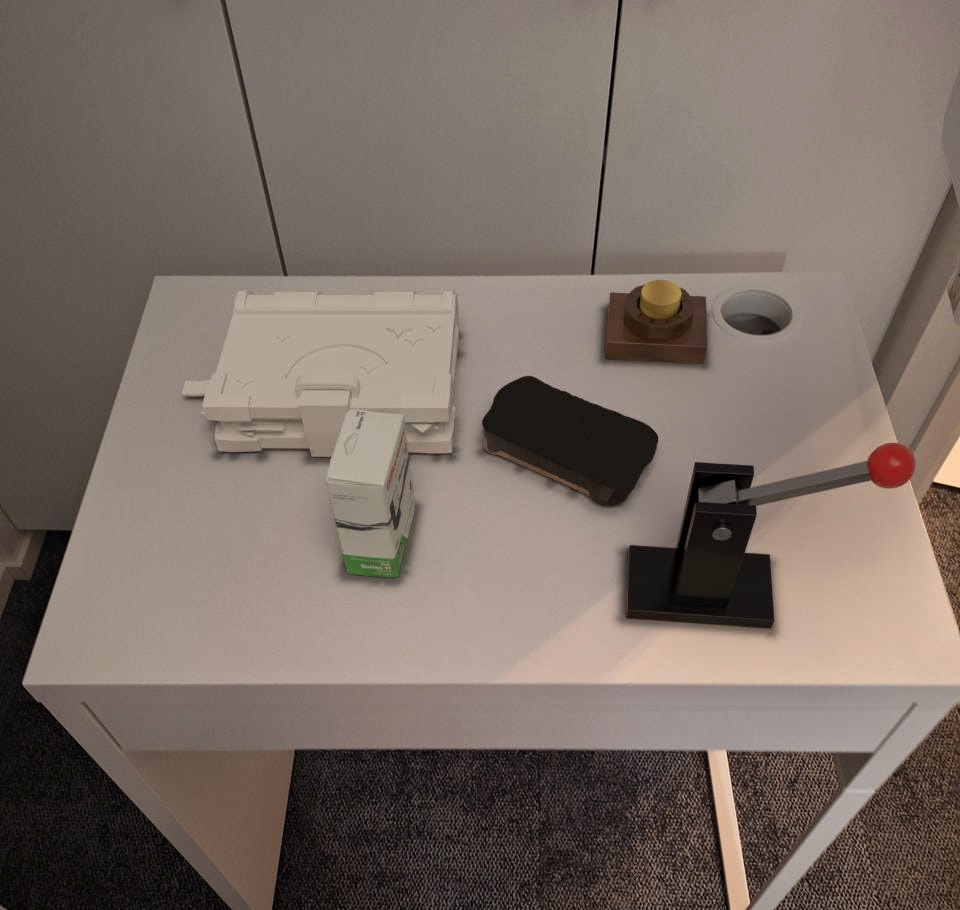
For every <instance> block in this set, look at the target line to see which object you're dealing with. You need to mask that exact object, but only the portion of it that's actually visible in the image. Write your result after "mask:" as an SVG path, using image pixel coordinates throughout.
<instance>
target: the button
mask: <svg viewBox="0 0 960 910" xmlns="http://www.w3.org/2000/svg"><path fill="white" fill-rule="evenodd" d="M643 285H644V286H643V288H642V290H641V298H640V309H641V311H642V312H643V313H644V314H645V315H647V316H649V317H651V318H658V319H667V318H670V317H672V316H674V315H675V314H676V313H677V312H678V310H679V307H680V301H681V295H682V293H681V289H680V288H681V287H680V286H679V285H677V283H675V282H673V281H670V280H667V279H654V280H651V281H648V282H646V283H645V284H643ZM679 287H680V288H679Z"/></svg>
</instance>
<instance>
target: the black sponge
mask: <svg viewBox="0 0 960 910" xmlns="http://www.w3.org/2000/svg"><path fill="white" fill-rule="evenodd" d="M493 397H494V398H493V401H492V404H491V406H490V408H489V410H488V411H487V412H486V414H485V415H484V416H483V418H482V421H481V426H482V427H483V430H482V434H483V441H482V445H483V448H484V450H485V451H486V452H487V453H488V454H490V455H495V456H496V455H497V456H500V457H502V458H505V459H506V460H510V462H513V463H516V464H518V465H519V466H522V467H524V468H527V469H529V470H530V471H534V472H535V473H538V474H540V475H542V476H544V477H547V478H549V479H552V480H553V481H556V482H558V483H560V484H562V485H565V486H567V487H569V488H571V489H574V490H576V491H577V492H580V493H582V494H585V495H587V496H588V497H589V498H590V499H591V500H592V501H594V502H595V503H598V504H601V505H604V506H613V507H614V506H618V505H620V504H622V503H623V502H624V501H626V499H628V497H629V495H630V494H632V491H633V490H634V489H635V487H636V486H637V483H638V482H639V480H640V478H641V476H642V474H643V472H644V470H645V469H646V468H647V466H649V465H650V464H651V463H652V462H653V460H654V458H655V456H656V453H657V450H658V443H659V441H660V440H659V435H658V433H657V432H656V430H655V429H654V428H652V427H651V426H650V425H649V424H647V423H645V422H643V421H642V420H639V419H636V418H633V417H630V416H628V415H625V414H622V413H621V412H618V411H616V410H612V409H610V408H608V407H607V408H606V407H604V406H601V405H599V404H597V403H593V402H590V401H589V400H586V399H584V398H583V397H579V396H577V395H574V394H571V393H570V392H568V391H566V390H561V389H559V388H556V387H554V386H552V385H550V384H548V383H546V382H544V381H543V380H541V379H539V378H537V377H535V376H533V375H524V376H521V377H519V378H517V379H513V380H512V381H510V382H508V383H507V384H505V385H503V386H502V387H501V388H500V389H498V391H497V392H496V394H495V395H494V396H493Z"/></svg>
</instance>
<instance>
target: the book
mask: <svg viewBox="0 0 960 910" xmlns="http://www.w3.org/2000/svg"><path fill="white" fill-rule="evenodd" d="M459 311H460V310H459V299H458V293H456V291H455V289H444V290H443V291H442V293H417V291H416V290H376V291H374V293H323V292H322V291H321V290H276V291H274V293H254V291H253V290H252V289H241V290H238V293H237V294H236V295H235V298H234V302H233V312H232V316H231V319H230V322H229V325H228V330H227V333H226V336H225V340H224V343H223V347H222V350H221V353H220V357H219V360H218V363H217V367H216V371H215V372H212V374H211V376H210V378H209V379H208V380H185V382H184V384H183V388H182V391H181V396H182V397H203V400H202V401H203V402H202V406H201V408H202V411H201V412H200V414H201V415H203V416H205V418H206V420H208V421H216V424H215V430H214V443H215V445H216V447H217V451H218V452H227V453H228V452H229V453H241V452H242V453H243V452H262V450H263V449H309V452H310V456H311V457H313V458H319V457H320V458H332V455H333V453H334V450H335V445H336V442H337V440H338V437H339V435H340V432H341V428H342V425H343V422H344V420H345V416H346V413H347V412H348V411H349V410H350V409H351V408H353V407H354V408H363V409H373V410H381V411H389V412H395V413H401V414H404V417H405V426H406V434H407V443H408V452H409V453H419V454H436V455H437V454H452V453H453V447H454V437H455V436H454V432H455V416H456V405H454V402H455V401H454V400H455V387H456V375H457V364H458V352H459V344H460V319H459V318H460V314H459V313H460V312H459Z"/></svg>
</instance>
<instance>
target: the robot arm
mask: <svg viewBox="0 0 960 910" xmlns="http://www.w3.org/2000/svg"><path fill="white" fill-rule="evenodd" d="M957 67H958V68H957V71H956V73H955V77H954V81H953V82H952V83H953V84H952V85H951V90H950V94H949V96H948V100H947V102H946V103H947V104H946V107H945V111H944V115H943V121H942V130H941V137H940V138H941V144H940V145H941V147H942V152H943V154H944V159H945V161H946V165H947V168H948V172H949V175H950V179H951V183H952V186H953V190H954V193H955V197H956V201H957V204H958V208H959V209H960V63H959V65H958V66H957ZM946 293H947V296H948V299H949V302H950V306H951V307H950V308H951V311H952V317H953V320H954V323H955V325H957V326H960V242H959V244H958V251H957V255H956V261H955V269H954V271H953V273H952V276H951V278H950V281H949V282H948V284H947V287H946Z"/></svg>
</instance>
